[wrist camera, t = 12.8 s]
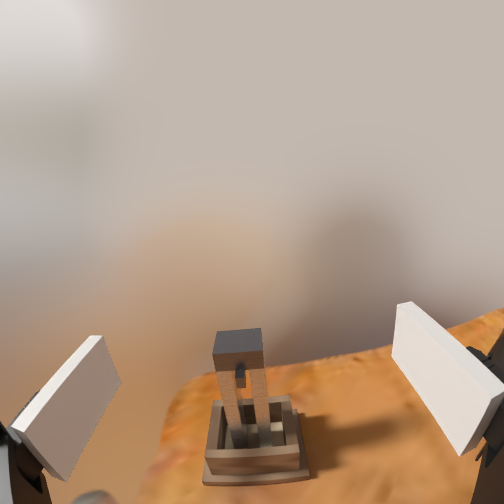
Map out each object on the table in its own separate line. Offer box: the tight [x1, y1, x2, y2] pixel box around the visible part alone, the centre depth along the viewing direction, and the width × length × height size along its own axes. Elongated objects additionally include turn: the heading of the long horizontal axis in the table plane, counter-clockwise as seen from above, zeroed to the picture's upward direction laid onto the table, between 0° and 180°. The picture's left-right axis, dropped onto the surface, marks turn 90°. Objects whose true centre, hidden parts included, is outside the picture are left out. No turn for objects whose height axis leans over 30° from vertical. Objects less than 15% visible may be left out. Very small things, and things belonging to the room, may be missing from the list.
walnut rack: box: [202, 395, 310, 486], centre depth 29 cm, size 12×12×5 cm
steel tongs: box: [213, 328, 273, 449], centre depth 27 cm, size 4×6×16 cm
